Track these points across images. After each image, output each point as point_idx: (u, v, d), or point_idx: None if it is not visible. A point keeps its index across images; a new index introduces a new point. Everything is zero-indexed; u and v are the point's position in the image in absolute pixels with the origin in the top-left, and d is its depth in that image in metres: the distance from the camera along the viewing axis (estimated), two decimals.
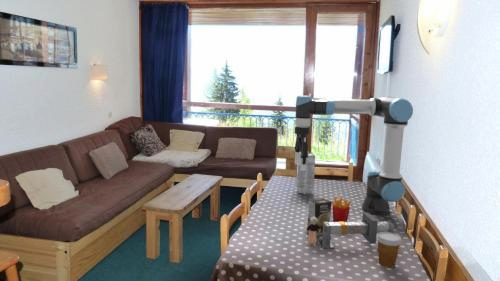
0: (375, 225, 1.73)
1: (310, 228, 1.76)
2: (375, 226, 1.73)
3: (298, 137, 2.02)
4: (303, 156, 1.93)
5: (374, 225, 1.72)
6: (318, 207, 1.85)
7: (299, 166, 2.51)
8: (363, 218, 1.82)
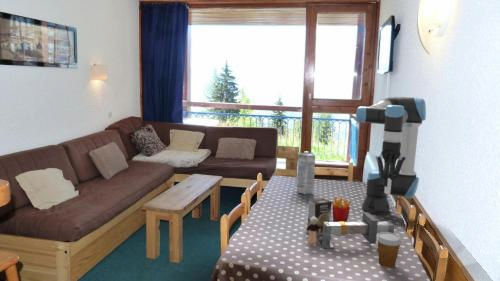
0: (375, 225, 1.73)
1: (310, 228, 1.76)
2: (375, 226, 1.73)
3: None
4: (380, 176, 1.76)
5: (374, 225, 1.72)
6: (318, 207, 1.85)
7: (299, 166, 2.51)
8: (363, 218, 1.82)
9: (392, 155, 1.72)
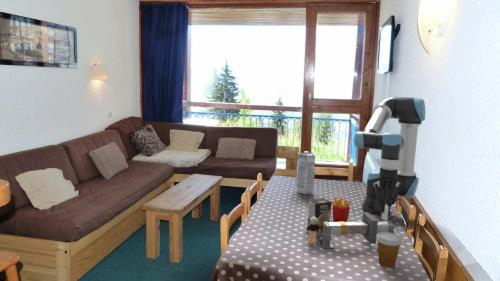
0: (375, 225, 1.73)
1: (310, 228, 1.76)
2: (375, 226, 1.73)
3: None
4: (377, 202, 1.78)
5: (374, 225, 1.72)
6: (318, 207, 1.85)
7: (299, 166, 2.51)
8: (363, 218, 1.82)
9: (389, 182, 1.74)
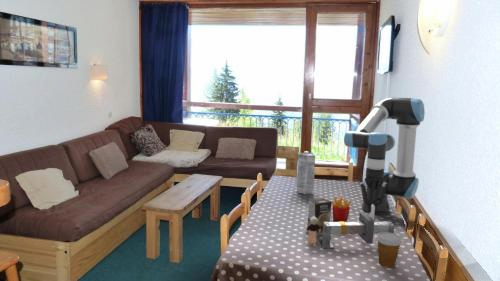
0: (372, 225, 1.72)
1: (310, 228, 1.76)
2: (372, 226, 1.72)
3: None
4: (363, 202, 1.77)
5: (370, 225, 1.72)
6: (318, 207, 1.85)
7: (299, 166, 2.51)
8: (360, 218, 1.82)
9: (375, 182, 1.74)
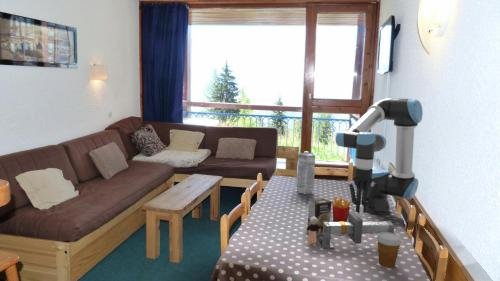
0: (360, 225, 1.72)
1: (310, 228, 1.76)
2: (360, 226, 1.72)
3: None
4: (352, 202, 1.76)
5: (359, 225, 1.72)
6: (318, 207, 1.85)
7: (299, 166, 2.51)
8: (349, 218, 1.81)
9: (364, 182, 1.73)
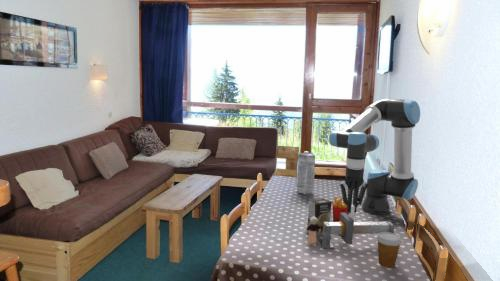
0: (351, 225, 1.71)
1: (310, 228, 1.76)
2: (351, 226, 1.71)
3: None
4: (343, 202, 1.76)
5: (350, 225, 1.71)
6: (318, 207, 1.85)
7: (299, 166, 2.51)
8: (340, 218, 1.80)
9: (355, 182, 1.73)
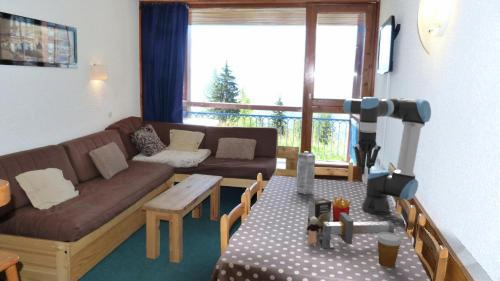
0: (351, 225, 1.71)
1: (310, 228, 1.76)
2: (351, 226, 1.71)
3: None
4: None
5: (349, 225, 1.71)
6: (318, 207, 1.85)
7: (299, 166, 2.51)
8: (340, 218, 1.80)
9: (368, 144, 1.82)
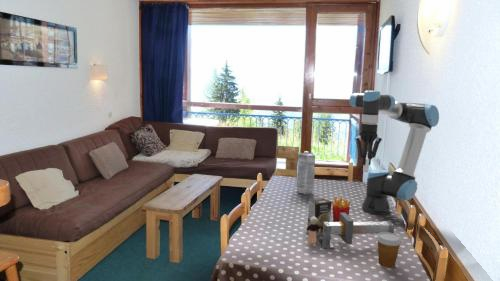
0: (351, 225, 1.71)
1: (310, 228, 1.76)
2: (351, 226, 1.71)
3: None
4: (359, 156, 1.92)
5: (349, 225, 1.71)
6: (318, 207, 1.85)
7: (299, 166, 2.51)
8: (340, 218, 1.80)
9: (369, 136, 1.89)
